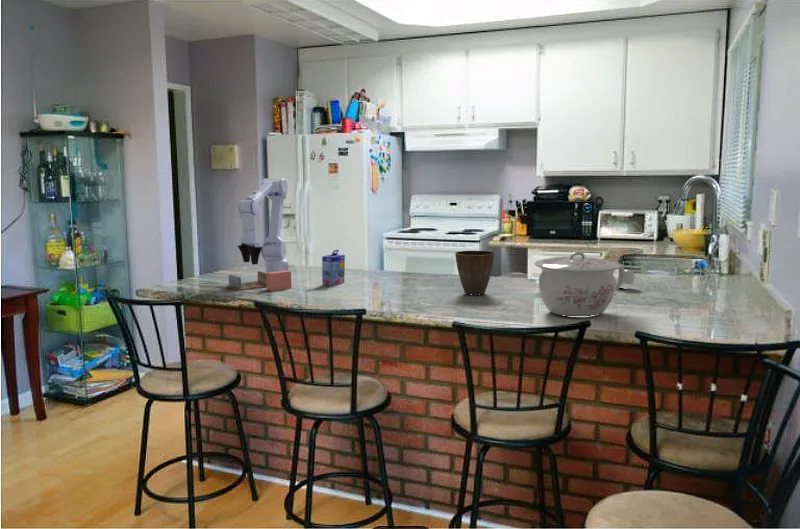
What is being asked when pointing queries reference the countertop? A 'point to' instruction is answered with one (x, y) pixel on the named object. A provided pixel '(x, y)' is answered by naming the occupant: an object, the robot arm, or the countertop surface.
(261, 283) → the shelf
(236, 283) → the gray rectangular bar
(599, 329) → the countertop surface
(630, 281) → the white plastic bottle
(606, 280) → the chamber pot
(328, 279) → the ink cartridge box
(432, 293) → the countertop surface
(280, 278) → the pink rectangular pillar
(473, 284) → the plant pot
